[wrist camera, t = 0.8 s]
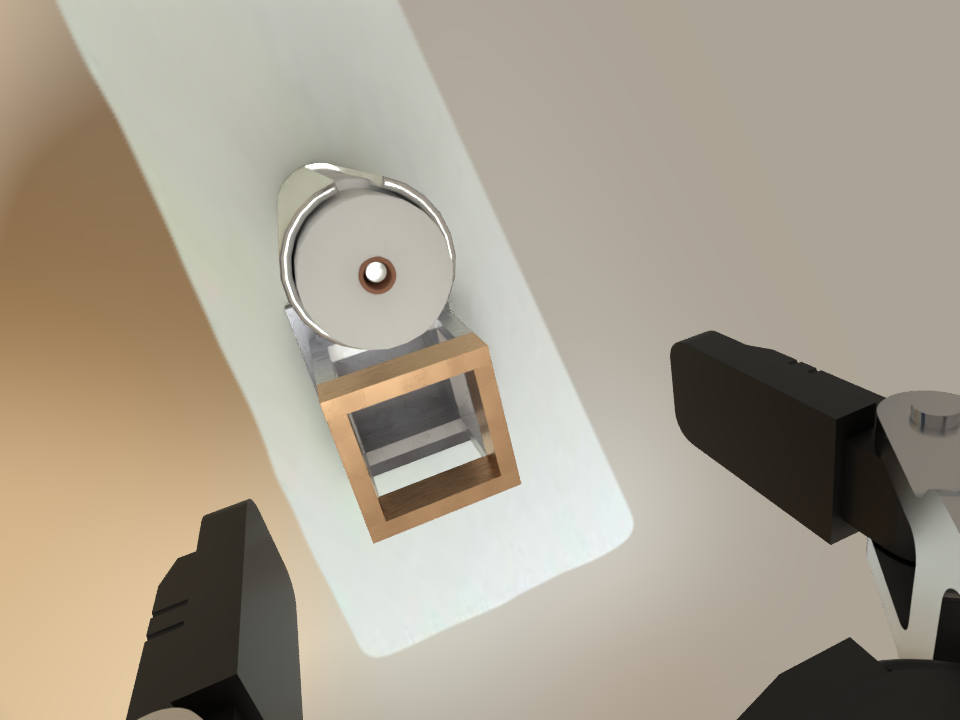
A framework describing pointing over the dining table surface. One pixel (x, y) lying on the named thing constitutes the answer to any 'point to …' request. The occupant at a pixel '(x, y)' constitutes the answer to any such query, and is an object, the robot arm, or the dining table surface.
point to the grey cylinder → (362, 256)
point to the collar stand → (412, 419)
